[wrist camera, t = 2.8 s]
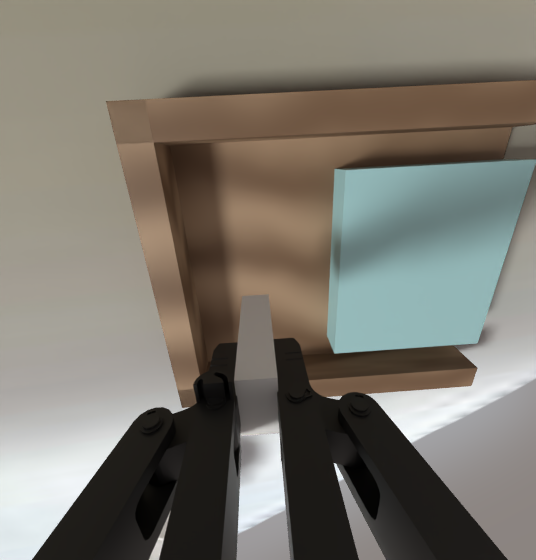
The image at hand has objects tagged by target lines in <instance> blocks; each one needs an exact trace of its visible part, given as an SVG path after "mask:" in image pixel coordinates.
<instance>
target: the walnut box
mask: <svg viewBox="0 0 536 560" xmlns="http://www.w3.org/2000/svg"><path fill="white" fill-rule="evenodd" d="M106 103H107V107H108V111H109V115H110V120H111V124H112V128H113V132H114V136H115V140H116V144H117V148H118V152H119V156H120V160H121V164H122V168H123V172H124V176H125V180H126V184H127V188H128V192H129V196H130V200H131V204H132V208H133V212H134V216H135V220H136V224H137V228H138V232H139V236H140V240H141V244H142V248H143V252H144V256H145V260H146V264H147V268H148V272H149V276H150V280H151V284H152V288H153V292H154V296H155V300H156V304H157V308H158V312H159V316H160V321H161V325H162V329H163V333H164V337H165V341H166V345H167V349H168V353H169V357H170V361H171V365H172V369H173V373H174V377H175V381H176V385H177V389H178V393H179V397H180V401H181V405H182V408H185V407H192V406H193V405H195V404H196V403H197V402H196V397H195V393H194V388H193V384H194V382H195V380H196V379H197V378H198V377H199V376H200V375H201V374H203V373H205V372H207V371H209V368H210V364H211V360H212V355H213V351H214V349H215V348H216V347H217V346H218V345H219V344H220V343H234V342H238V334H239V324H240V314H241V303H242V296H251V295H266V294H269V303H270V312H271V322H272V331H273V339H281V338H294V339H295V340H296V341H297V342H298V343H299V344H300V347H301V351H302V355H303V359H304V363H305V367H306V371H307V375H308V379H309V383H310V385H311V387H312V388H313V390H314V391H315V392H317V393H318V394H319V395H321V396H323V397H331V396H343V395H345V394H347V393H350V392H359V393H364V394H371V393H384V392H397V391H411V390H424V389H437V388H450V387H464V386H472V383H473V380H474V377H475V374H476V371H477V367H476V366H475V365H474V364H473V363H472V362H470V361H469V360H468V359H467V358H466V357H465V356H464V355H463V354H462V353H461V352H460V351H459V350H458V349H457V348H455V347H454V346H453V345H447V346H433V347H419V348H405V349H391V350H377V351H363V352H350V353H336V354H334V351H333V349H332V347H331V344H330V342H329V339H328V337H327V323H328V302H329V280H330V258H331V237H332V215H333V194H334V172H335V169H342V168H360V167H378V166H396V165H414V164H431V163H449V162H467V161H485V160H503V158H504V155H505V151H506V147H507V144H508V140H509V137H510V133H511V129H512V127H517V126H525V125H533V124H536V80H526V81H506V82H486V83H465V84H445V85H425V86H405V87H385V88H364V89H344V90H324V91H304V92H284V93H263V94H243V95H223V96H203V97H183V98H162V99H142V100H122V101H106Z"/></svg>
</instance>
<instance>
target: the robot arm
mask: <svg viewBox="0 0 536 560" xmlns="http://www.w3.org/2000/svg"><path fill="white" fill-rule="evenodd" d="M193 388H194V393H195V397H196V402H197V403H196V404H195V405H193V406H192V407H190V408H188V409H186V410H183V411H180V412H177V413H174V414H172V413H171V412H170V410H169V409H166V408H163V407H161V408H153V409H150V410H147V411H146V412H144V413H143V414H141V415H140V416H139V417H138V418H137V419H136V420H135V421H134V422H133V423H132V425H131V426H130V427H129V429H128V430H127V431H126V433H125V434H124V436H123V437H122V438H121V440H120V441H119V442H118V444H117V445H116V446H115V448H114V449H113V450H112V452H111V453H110V455H109V456H108V457H107V459H106V460H105V461H104V463H103V464H102V465H101V467H100V468H99V469H98V471H97V472H96V474H95V475H94V476H93V478H92V479H91V480H90V482H89V483H88V484H87V486H86V487H85V488H84V490H83V491H82V493H81V494H80V495H79V497H78V498H77V499H76V501H75V502H74V503H73V505H72V506H71V507H70V509H69V510H68V512H67V513H66V514H65V516H64V517H63V518H62V520H61V521H60V522H59V524H58V525H57V526H56V528H55V529H54V531H53V532H52V533H51V535H50V536H49V537H48V539H47V540H46V541H45V543H44V544H43V545H42V547H41V548H40V550H39V551H38V552H37V554H36V555H35V556H34V558H33V559H32V560H149V558H150V556H151V553H152V551H153V549H154V547H155V544H156V542H157V540H158V538H159V535H160V533H161V531H162V529H163V526H164V524H165V522H166V520H167V517H168V515H169V513H170V515H169V520H168V524H167V528H166V532H165V536H164V540H163V544H162V549H161V553H160V557H159V560H236V556H237V555H236V554H237V533H238V511H239V488H240V466H241V446H240V431H241V436H248V435H261V434H274V433H280V447H281V461H282V470H283V481H284V492H285V504H286V515H287V526H288V537H289V548H290V559H291V560H359V558H358V555H357V551H356V547H355V544H354V540H353V536H352V532H351V528H350V524H349V520H348V517H347V513H346V509H345V505H344V502H343V497H342V494H341V490H340V486H339V482H338V478H337V475H336V471H335V467H334V463H336V464H337V466H338V468H339V470H340V472H341V474H342V476H343V478H344V480H345V481H346V483H347V485H348V487H349V489H350V491H351V493H352V495H353V497H354V499H355V501H356V503H357V504H358V506H359V508H360V510H361V512H362V514H363V516H364V518H365V520H366V522H367V524H368V526H369V528H370V530H371V531H372V533H373V535H374V537H375V539H376V541H377V543H378V545H379V547H380V549H381V551H382V553H383V555H384V556H385V558H386V560H508V559H507V558H506V557H505V556H504V555H503V554H502V552H501V551H500V550H499V549H498V547H497V546H496V545H495V544H494V543H493V542H492V540H491V539H490V538H489V537H488V536H487V534H486V533H485V532H484V531H483V529H482V528H481V527H480V526H479V525H478V523H477V522H476V521H475V520H474V519H473V517H471V515H470V514H469V513H468V511H467V510H466V509H465V508H464V507H463V505H461V503H460V502H459V501H458V499H457V498H456V497H455V496H454V495H453V493H452V492H451V491H450V490H449V489H448V487H447V486H446V485H445V484H444V483H443V481H442V480H441V479H440V478H439V477H438V475H437V474H436V473H435V472H434V471H433V470H432V468H431V467H430V466H429V465H428V463H427V462H426V461H425V460H424V458H423V457H422V456H421V455H420V454H419V452H418V451H417V450H416V449H415V448H414V446H413V445H412V444H411V443H410V442H409V440H408V439H407V438H406V437H405V436H404V434H403V433H402V432H401V431H400V430H399V428H398V427H397V426H396V425H395V424H394V422H393V421H392V420H391V419H390V418H389V416H388V415H387V414H386V413H385V412H384V410H383V409H382V408H381V407H380V406H379V404H378V403H377V402H376V401H375V400H374V399H373V398H371V397H370V396H368V395H366V394H364V393H359V392H350V393H347V394H345V395H343V396H342V397H341V399H340V400H336V399H331V398H327V397H323V396H321V395H319V394H318V393H317V392H315V391H314V390H313V388H312V387H311V385H310V383H309V379H308V375H307V371H306V367H305V363H304V359H303V355H302V351H301V347H300V344H299V343H298V342H297V341H296V340H295V339H294V338H281V339H273V331H272V322H271V312H270V303H269V294H266V295H251V296H242V303H241V314H240V324H239V334H238V342H234V343H220V344H219V345H218V346H217V347H216V348H215V349H214V351H213V355H212V360H211V364H210V368H209V371H207V372H205V373H203V374H201V375H200V376H199V377H198V378H197V379H196V380H195V382H194V384H193Z"/></svg>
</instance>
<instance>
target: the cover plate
mask: <svg viewBox="0 0 536 560" xmlns="http://www.w3.org/2000/svg"><path fill="white" fill-rule="evenodd" d="M535 164H536V159H503V160H485V161H467V162H449V163H431V164H414V165H396V166H378V167H360V168H342V169H335V172H334V194H333V215H332V237H331V258H330V280H329V302H328V323H327V337H328V339H329V342H330V344H331V347H332V349H333V351H334V354H336V353H350V352H363V351H377V350H391V349H405V348H419V347H433V346H447V345H461V344H475V343H478V340H479V337H480V334H481V331H482V328H483V325H484V322H485V318H486V315H487V312H488V309H489V306H490V303H491V300H492V297H493V294H494V291H495V288H496V284H497V281H498V278H499V275H500V272H501V269H502V266H503V263H504V260H505V257H506V254H507V250H508V247H509V244H510V241H511V238H512V235H513V232H514V229H515V226H516V223H517V220H518V217H519V213H520V210H521V207H522V204H523V201H524V198H525V195H526V192H527V189H528V186H529V183H530V179H531V176H532V173H533V170H534V167H535Z"/></svg>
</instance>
